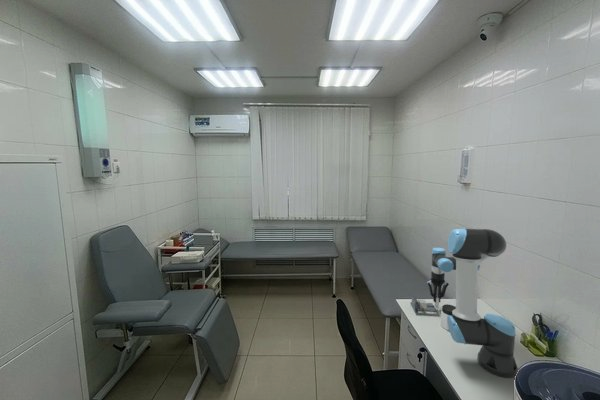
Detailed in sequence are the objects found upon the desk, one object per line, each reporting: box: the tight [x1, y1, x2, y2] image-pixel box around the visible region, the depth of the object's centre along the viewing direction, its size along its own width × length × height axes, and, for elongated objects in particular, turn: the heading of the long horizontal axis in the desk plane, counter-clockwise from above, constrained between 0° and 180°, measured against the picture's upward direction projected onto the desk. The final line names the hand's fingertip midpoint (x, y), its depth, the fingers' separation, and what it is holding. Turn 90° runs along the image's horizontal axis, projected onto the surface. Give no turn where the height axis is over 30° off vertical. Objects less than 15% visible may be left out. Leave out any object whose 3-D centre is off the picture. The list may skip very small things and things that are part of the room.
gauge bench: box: [410, 295, 441, 317], centre depth 174 cm, size 14×14×7 cm
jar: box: [440, 304, 456, 332], centre depth 155 cm, size 9×8×12 cm
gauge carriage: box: [417, 298, 428, 312], centre depth 172 cm, size 8×4×4 cm, turn 171°
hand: (436, 306), depth 173 cm, fingers closed
